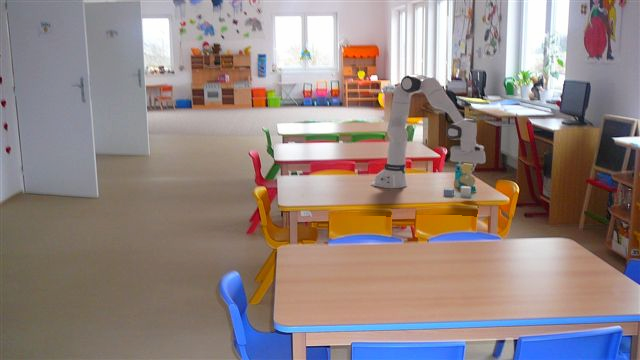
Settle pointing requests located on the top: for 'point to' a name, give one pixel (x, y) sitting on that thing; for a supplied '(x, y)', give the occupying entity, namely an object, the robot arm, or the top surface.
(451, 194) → the blue block
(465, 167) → the mustard block
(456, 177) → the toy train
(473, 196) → the build plate
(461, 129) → the robot arm
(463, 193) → the white block
